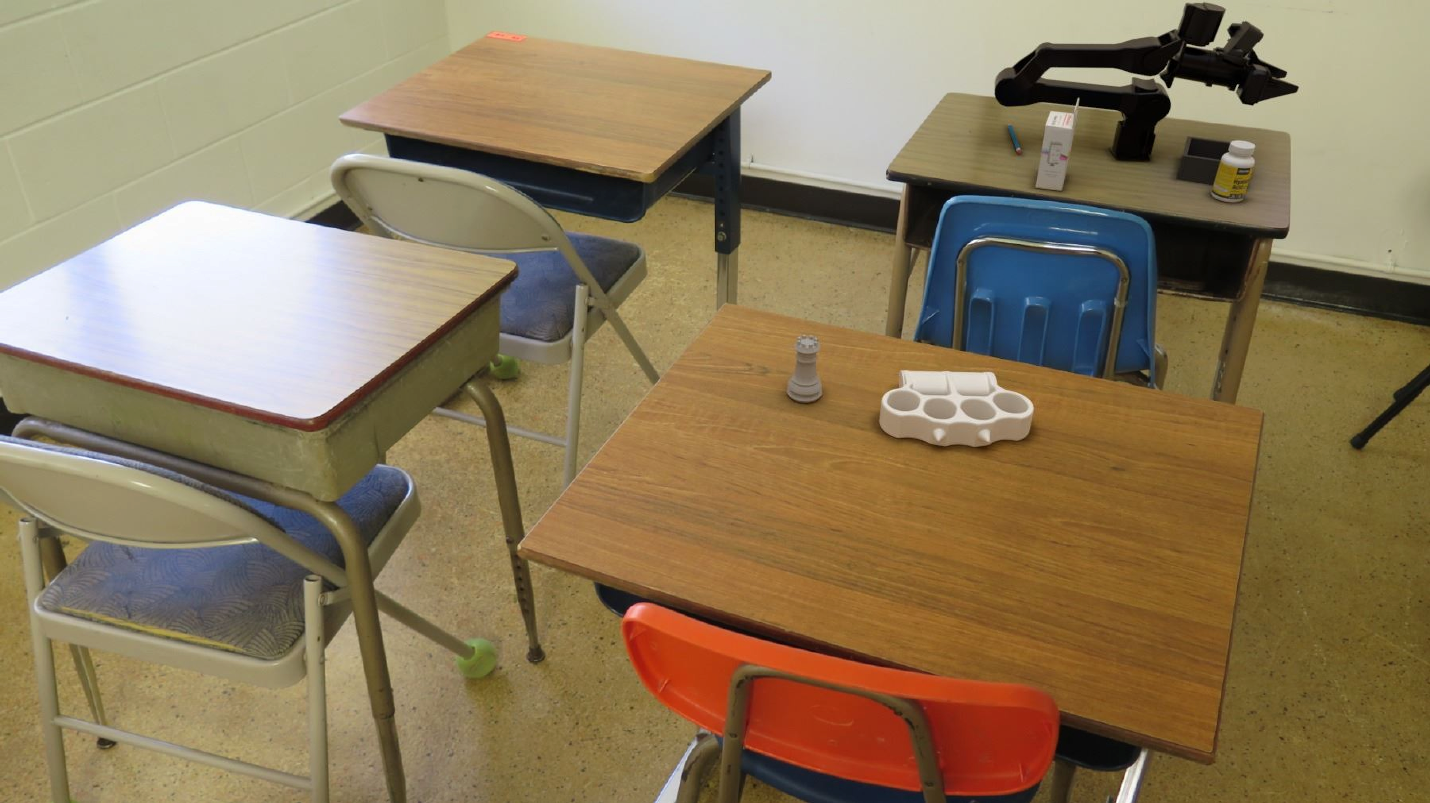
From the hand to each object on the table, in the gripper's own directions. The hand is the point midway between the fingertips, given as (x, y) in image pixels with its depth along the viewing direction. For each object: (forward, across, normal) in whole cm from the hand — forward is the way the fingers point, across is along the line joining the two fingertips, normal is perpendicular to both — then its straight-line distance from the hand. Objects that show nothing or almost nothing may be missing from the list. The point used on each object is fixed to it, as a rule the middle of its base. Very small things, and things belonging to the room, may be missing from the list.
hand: (1291, 82), depth 191 cm
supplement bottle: (-8, -18, +17) cm, 26 cm away
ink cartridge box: (-38, -18, +21) cm, 47 cm away
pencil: (-44, +4, +21) cm, 49 cm away
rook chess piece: (-71, -98, +25) cm, 124 cm away
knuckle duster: (-53, -100, +22) cm, 115 cm away
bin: (-9, -6, +17) cm, 20 cm away
